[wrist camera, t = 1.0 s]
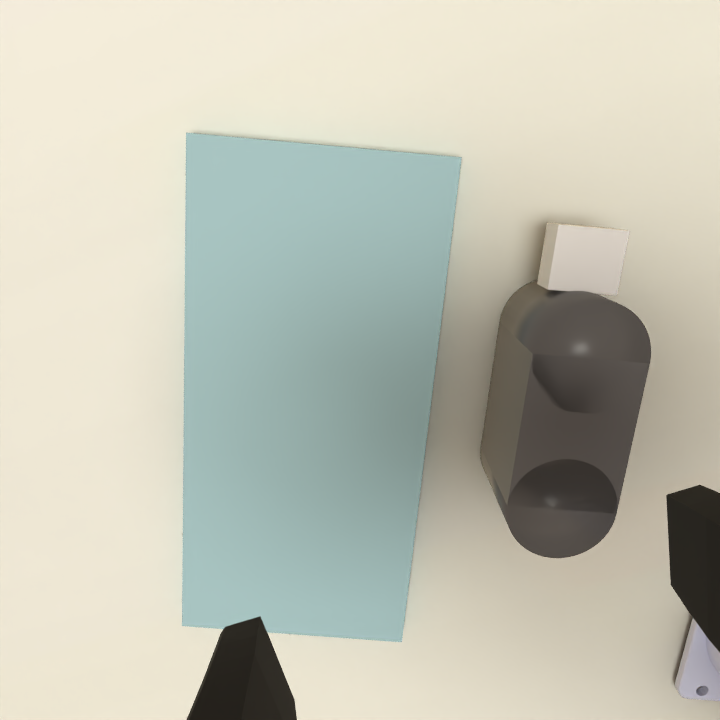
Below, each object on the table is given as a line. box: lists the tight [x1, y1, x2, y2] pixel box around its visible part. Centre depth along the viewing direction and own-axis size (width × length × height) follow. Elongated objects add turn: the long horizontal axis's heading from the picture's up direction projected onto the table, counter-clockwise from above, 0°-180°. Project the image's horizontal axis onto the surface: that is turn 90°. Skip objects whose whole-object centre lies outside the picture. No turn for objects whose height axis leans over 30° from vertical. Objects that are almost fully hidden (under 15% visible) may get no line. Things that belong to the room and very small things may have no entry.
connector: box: [480, 223, 651, 558], centre depth 21 cm, size 4×10×4 cm, turn 175°
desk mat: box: [182, 133, 462, 642], centre depth 23 cm, size 9×19×1 cm, turn 175°
